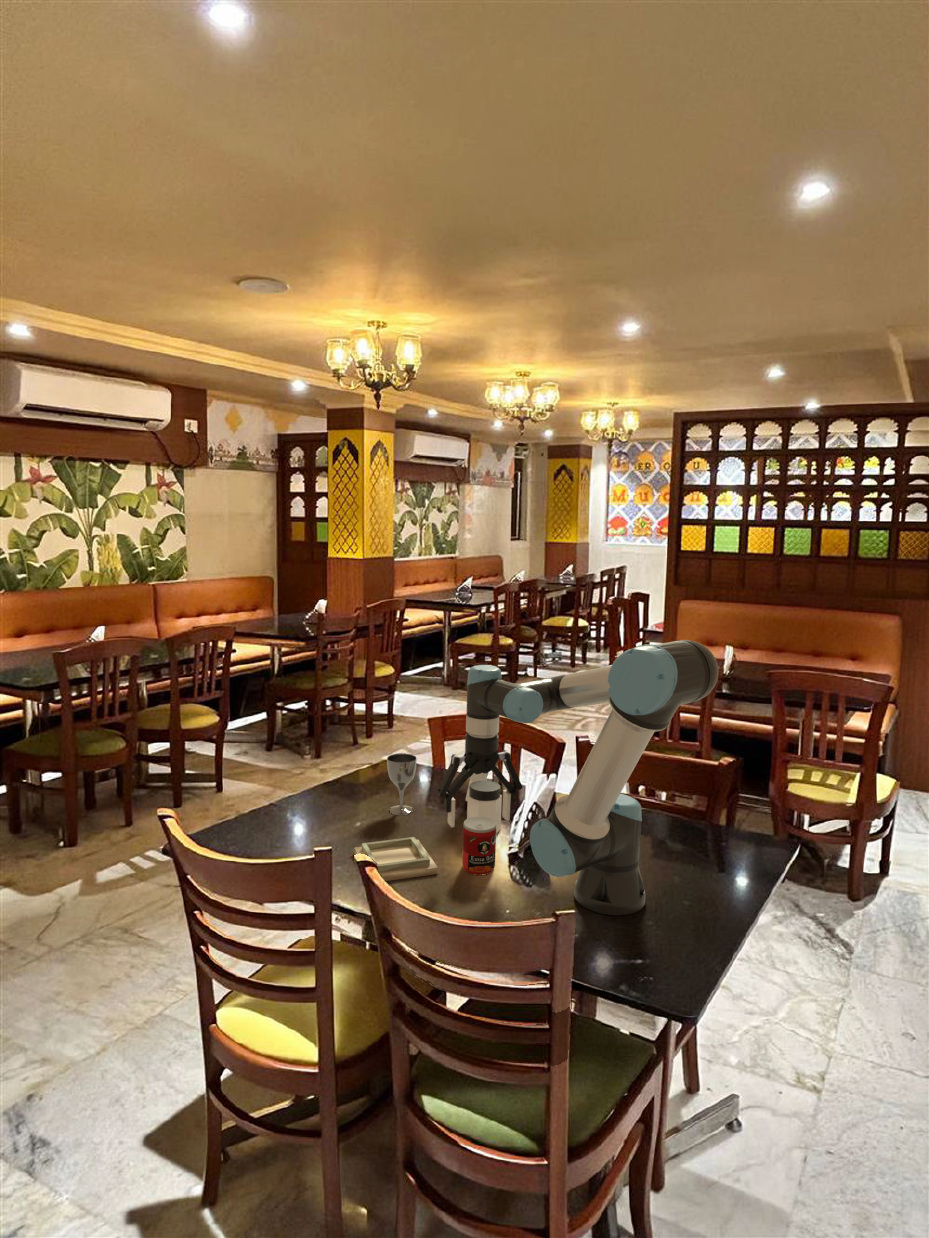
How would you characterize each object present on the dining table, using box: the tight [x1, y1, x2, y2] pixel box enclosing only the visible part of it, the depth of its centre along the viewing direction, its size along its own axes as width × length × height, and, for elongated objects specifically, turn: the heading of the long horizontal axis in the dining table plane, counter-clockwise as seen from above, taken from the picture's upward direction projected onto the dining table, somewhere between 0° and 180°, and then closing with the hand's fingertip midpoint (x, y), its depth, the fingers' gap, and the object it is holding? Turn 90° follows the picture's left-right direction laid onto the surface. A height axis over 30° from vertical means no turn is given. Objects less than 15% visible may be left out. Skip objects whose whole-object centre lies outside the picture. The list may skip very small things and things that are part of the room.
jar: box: [466, 780, 503, 835], centre depth 209 cm, size 9×8×12 cm
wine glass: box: [386, 752, 417, 816], centre depth 220 cm, size 8×8×15 cm
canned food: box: [462, 817, 497, 876], centre depth 187 cm, size 8×8×11 cm
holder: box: [353, 836, 439, 882], centre depth 189 cm, size 16×16×3 cm
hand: (478, 821), depth 186 cm, fingers open, 13 cm apart
